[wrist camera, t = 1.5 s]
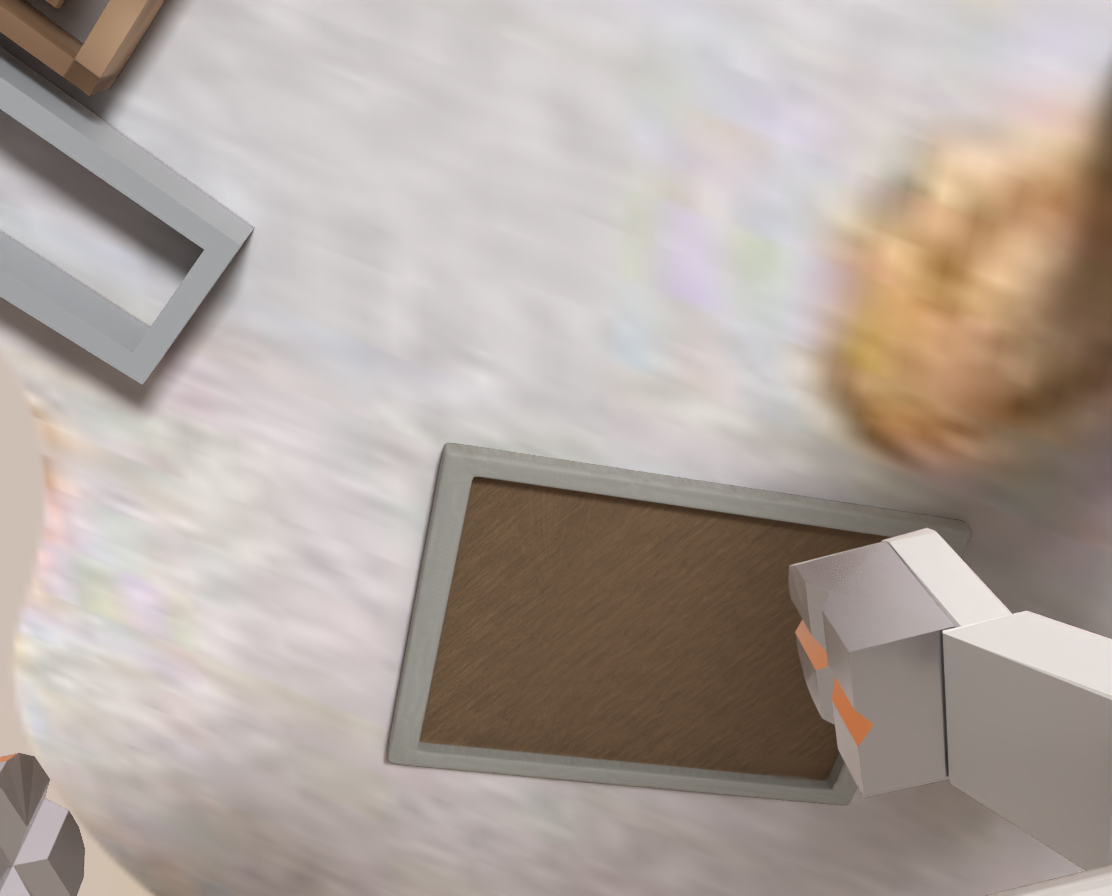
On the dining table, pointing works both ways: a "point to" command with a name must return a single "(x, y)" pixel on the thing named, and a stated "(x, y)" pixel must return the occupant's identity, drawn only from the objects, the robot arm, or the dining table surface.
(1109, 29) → the dining table surface
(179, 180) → the cradle
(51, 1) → the offcut lower
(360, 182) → the dining table surface
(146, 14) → the brown divided wooden tray
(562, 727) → the grey framed brown tray
